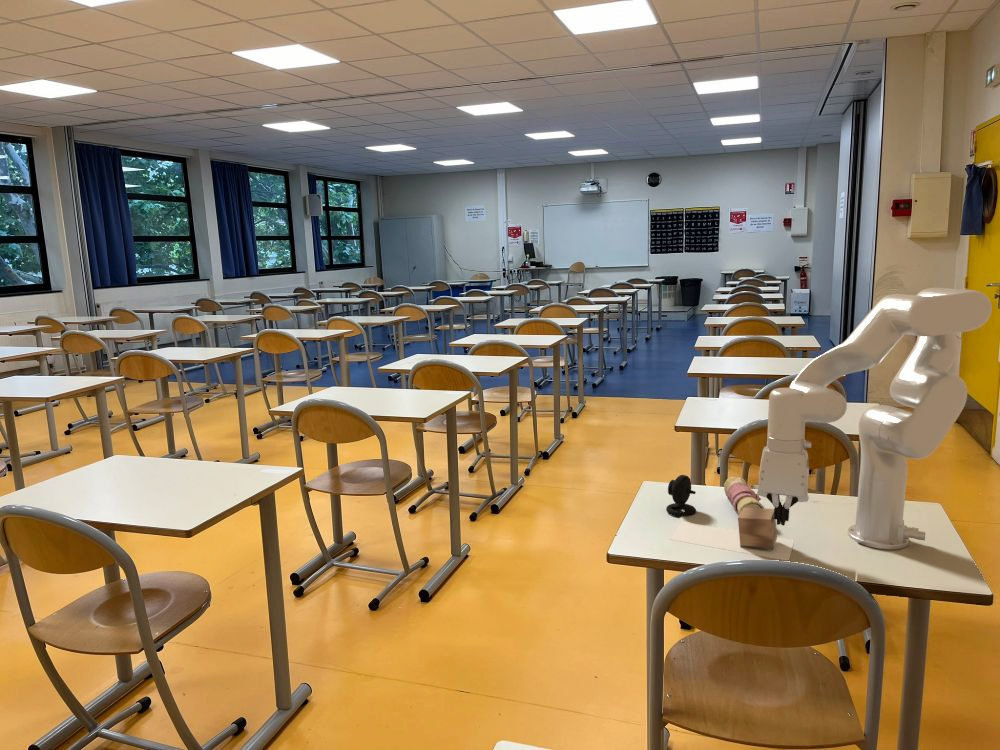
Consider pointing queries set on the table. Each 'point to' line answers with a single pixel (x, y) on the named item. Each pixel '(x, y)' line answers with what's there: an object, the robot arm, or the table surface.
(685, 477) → the webcam
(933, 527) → the table surface
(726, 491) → the scroll
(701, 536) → the mat
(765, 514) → the block
